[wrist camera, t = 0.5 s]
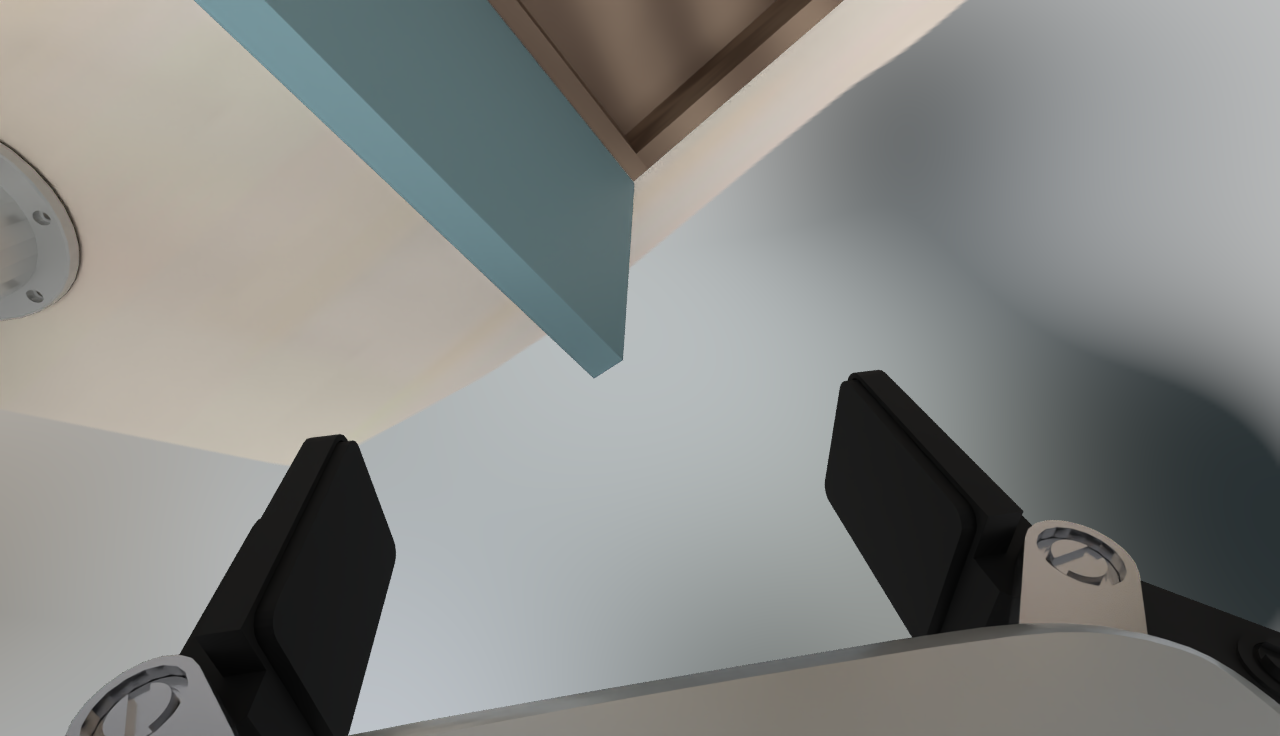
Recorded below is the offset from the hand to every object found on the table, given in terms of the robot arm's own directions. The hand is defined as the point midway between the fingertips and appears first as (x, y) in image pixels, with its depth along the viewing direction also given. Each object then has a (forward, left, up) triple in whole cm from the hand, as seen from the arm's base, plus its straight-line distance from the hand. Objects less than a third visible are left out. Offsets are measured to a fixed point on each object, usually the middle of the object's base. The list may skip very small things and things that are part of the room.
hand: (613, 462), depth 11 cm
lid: (-4, +6, -15) cm, 16 cm away
